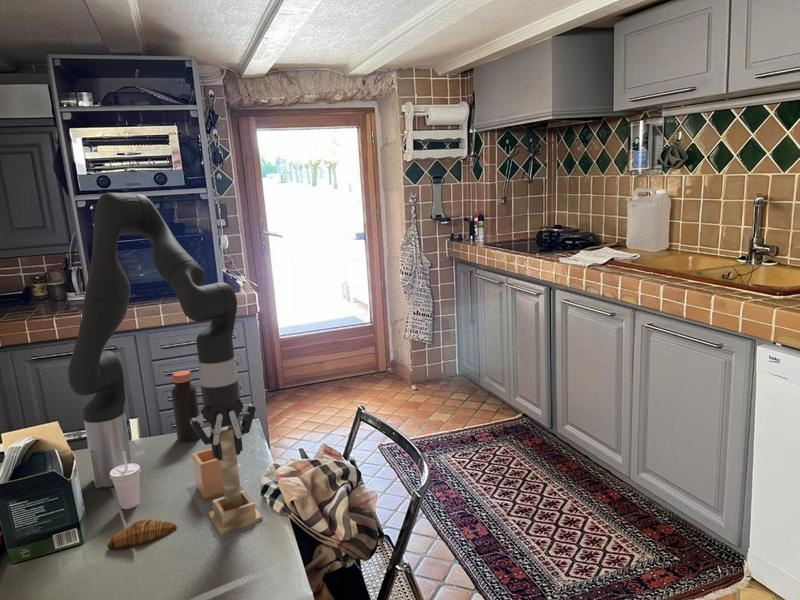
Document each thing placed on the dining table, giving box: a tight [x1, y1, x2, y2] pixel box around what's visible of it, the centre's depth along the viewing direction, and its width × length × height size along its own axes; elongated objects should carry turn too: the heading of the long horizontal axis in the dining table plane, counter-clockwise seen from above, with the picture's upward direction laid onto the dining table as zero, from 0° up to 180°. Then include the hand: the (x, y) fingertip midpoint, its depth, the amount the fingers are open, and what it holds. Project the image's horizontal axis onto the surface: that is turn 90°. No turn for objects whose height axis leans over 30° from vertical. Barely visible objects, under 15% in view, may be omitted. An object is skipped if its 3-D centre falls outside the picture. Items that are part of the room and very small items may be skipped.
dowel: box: [219, 427, 241, 503], centre depth 124 cm, size 3×3×16 cm
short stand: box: [208, 489, 262, 535], centre depth 126 cm, size 9×9×4 cm
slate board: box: [186, 484, 270, 542], centre depth 132 cm, size 11×26×1 cm, turn 33°
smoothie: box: [110, 452, 141, 510], centre depth 133 cm, size 6×6×14 cm
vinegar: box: [170, 370, 200, 443], centre depth 169 cm, size 7×7×20 cm
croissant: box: [106, 518, 178, 551], centre depth 121 cm, size 14×7×5 cm, turn 113°
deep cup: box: [191, 447, 224, 500], centre depth 137 cm, size 7×7×9 cm
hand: (228, 455), depth 123 cm, fingers closed on dowel, 3 cm apart
